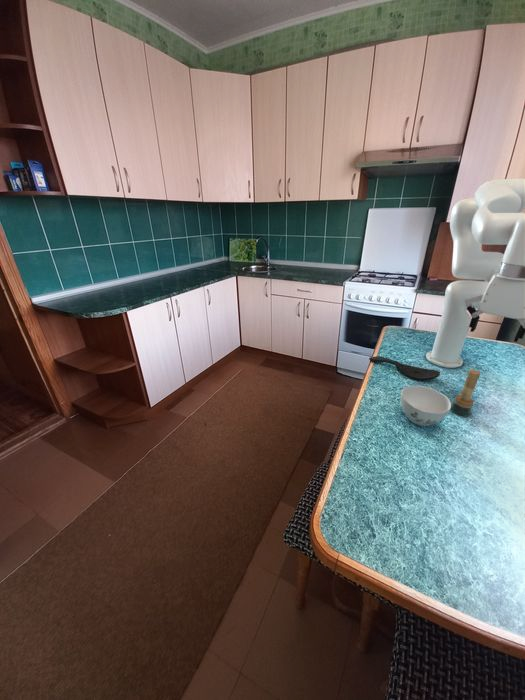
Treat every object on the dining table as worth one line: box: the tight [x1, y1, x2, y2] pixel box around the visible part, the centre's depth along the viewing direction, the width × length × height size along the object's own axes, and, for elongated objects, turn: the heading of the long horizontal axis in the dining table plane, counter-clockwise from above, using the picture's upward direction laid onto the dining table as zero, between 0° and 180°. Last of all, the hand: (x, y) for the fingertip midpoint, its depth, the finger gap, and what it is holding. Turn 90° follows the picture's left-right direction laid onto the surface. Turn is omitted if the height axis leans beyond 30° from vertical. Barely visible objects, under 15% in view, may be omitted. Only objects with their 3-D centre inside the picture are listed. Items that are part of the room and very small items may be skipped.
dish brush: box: [450, 369, 481, 417], centre depth 84 cm, size 5×5×14 cm
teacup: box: [400, 385, 452, 427], centre depth 84 cm, size 15×12×8 cm
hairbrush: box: [368, 356, 441, 381], centre depth 109 cm, size 8×4×25 cm
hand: (493, 335), depth 78 cm, fingers open, 9 cm apart
